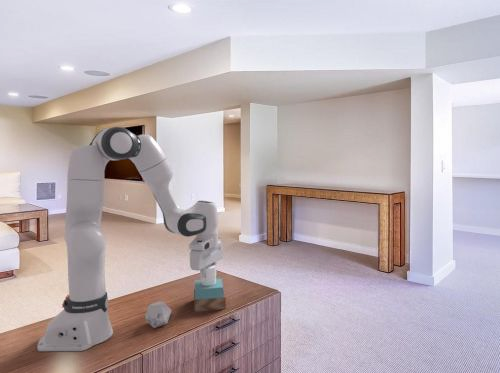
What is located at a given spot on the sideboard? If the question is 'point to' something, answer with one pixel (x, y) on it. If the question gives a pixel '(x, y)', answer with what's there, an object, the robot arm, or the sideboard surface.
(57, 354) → the sideboard surface
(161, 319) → the die
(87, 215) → the robot arm
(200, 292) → the tower top block
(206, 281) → the white rimmed cylinder
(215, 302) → the tower base block
